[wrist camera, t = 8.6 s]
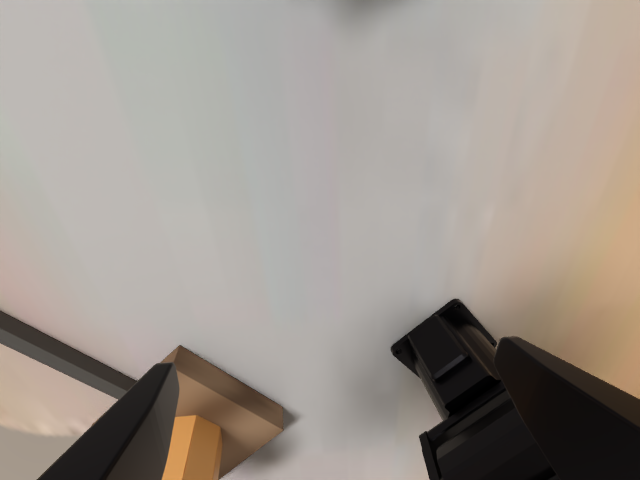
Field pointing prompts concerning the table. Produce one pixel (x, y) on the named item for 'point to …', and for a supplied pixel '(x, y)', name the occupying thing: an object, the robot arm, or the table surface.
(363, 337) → the table surface
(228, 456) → the peg block
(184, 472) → the orange domed octagonal post
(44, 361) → the bar
